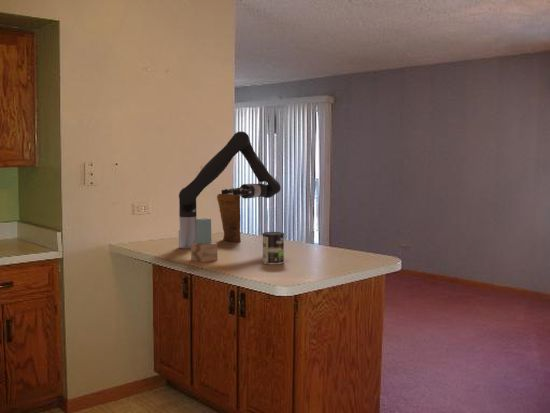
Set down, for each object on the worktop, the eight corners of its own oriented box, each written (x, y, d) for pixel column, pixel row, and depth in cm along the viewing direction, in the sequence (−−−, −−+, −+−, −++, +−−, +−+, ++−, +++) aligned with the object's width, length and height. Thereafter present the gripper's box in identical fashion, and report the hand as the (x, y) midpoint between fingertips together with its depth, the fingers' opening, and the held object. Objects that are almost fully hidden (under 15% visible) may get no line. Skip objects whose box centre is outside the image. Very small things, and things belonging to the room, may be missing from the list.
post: (196, 243, 276) (196, 219, 275) (204, 242, 280) (204, 218, 279) (203, 244, 273) (203, 219, 272) (211, 243, 277) (211, 219, 275)
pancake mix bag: (236, 243, 328) (235, 194, 325) (216, 239, 342) (215, 193, 339) (245, 242, 332) (244, 194, 329) (225, 238, 346) (224, 192, 343)
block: (191, 259, 277) (190, 243, 276) (205, 257, 283) (205, 241, 283) (203, 262, 271) (203, 245, 270) (217, 259, 277) (217, 243, 277)
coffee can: (288, 261, 271) (288, 232, 270) (276, 265, 263) (276, 235, 261) (270, 259, 277) (269, 231, 275) (258, 263, 268) (258, 233, 267)
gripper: (240, 183, 302) (218, 184, 290) (260, 184, 293) (237, 185, 281) (240, 197, 303) (218, 199, 291) (260, 198, 294) (237, 200, 282)
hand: (227, 192), depth 286 cm, fingers open, 8 cm apart
